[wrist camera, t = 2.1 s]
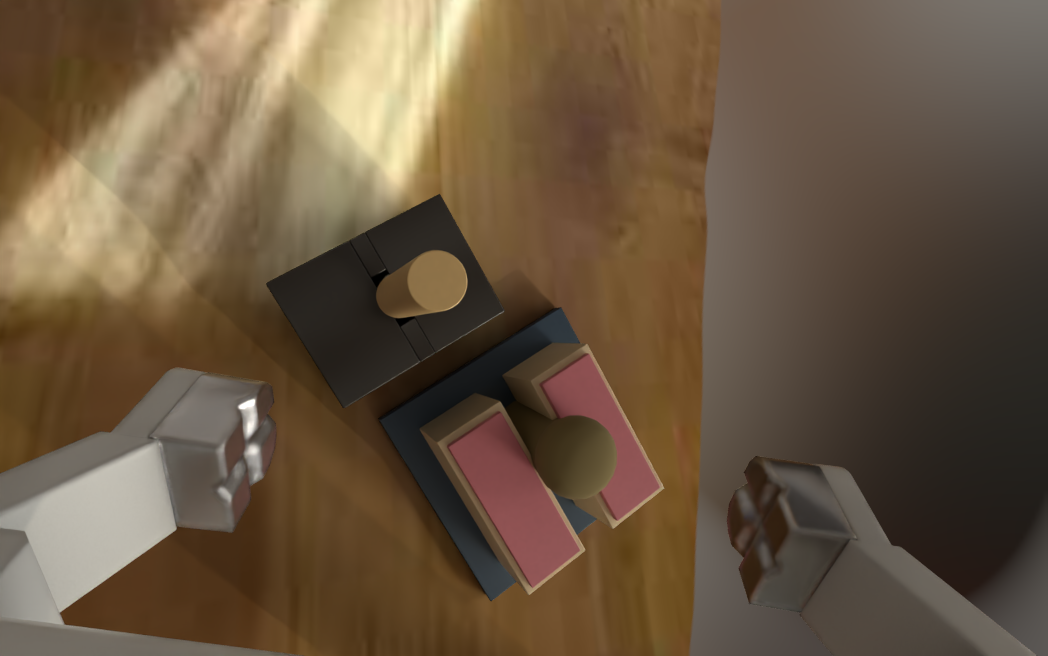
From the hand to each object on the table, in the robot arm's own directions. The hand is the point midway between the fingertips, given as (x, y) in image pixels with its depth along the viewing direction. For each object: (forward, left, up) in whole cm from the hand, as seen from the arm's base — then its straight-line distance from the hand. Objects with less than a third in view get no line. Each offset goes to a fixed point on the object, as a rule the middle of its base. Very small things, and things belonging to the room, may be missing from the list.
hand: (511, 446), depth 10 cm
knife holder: (-4, +1, -35) cm, 35 cm away
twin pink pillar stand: (+6, +13, -35) cm, 37 cm away
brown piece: (+5, +13, -34) cm, 37 cm away
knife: (-4, +1, -35) cm, 35 cm away
